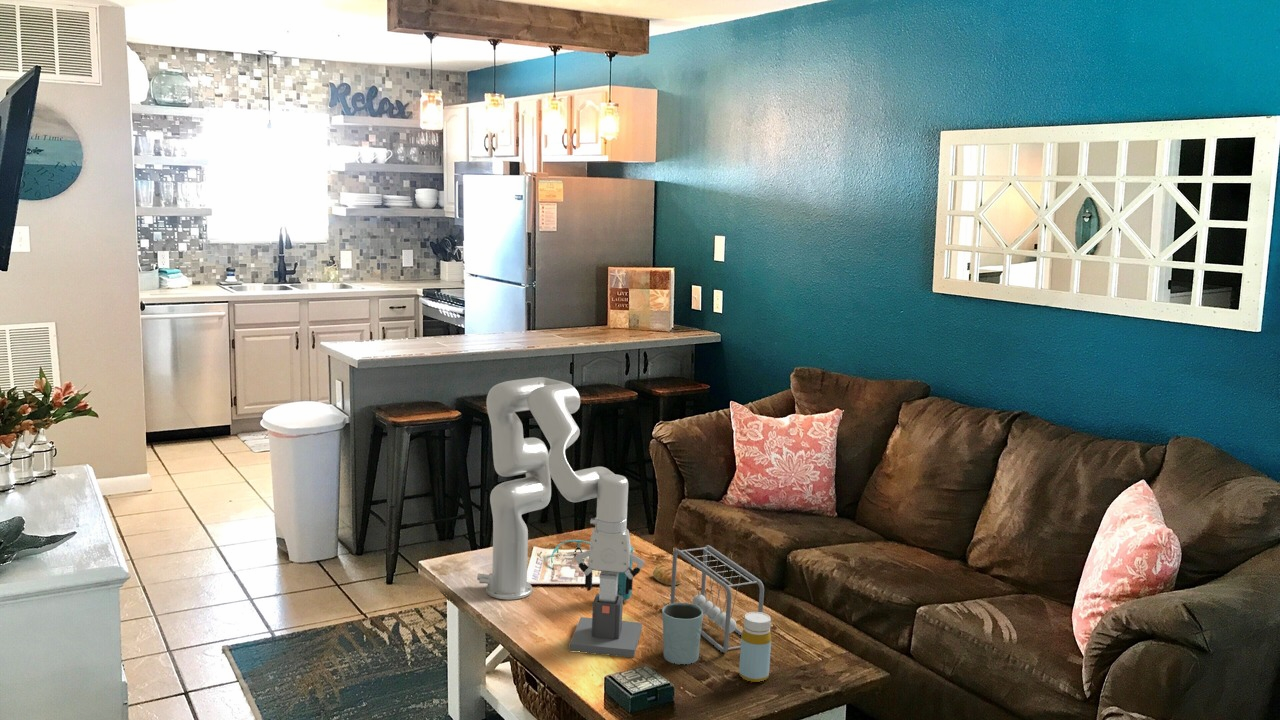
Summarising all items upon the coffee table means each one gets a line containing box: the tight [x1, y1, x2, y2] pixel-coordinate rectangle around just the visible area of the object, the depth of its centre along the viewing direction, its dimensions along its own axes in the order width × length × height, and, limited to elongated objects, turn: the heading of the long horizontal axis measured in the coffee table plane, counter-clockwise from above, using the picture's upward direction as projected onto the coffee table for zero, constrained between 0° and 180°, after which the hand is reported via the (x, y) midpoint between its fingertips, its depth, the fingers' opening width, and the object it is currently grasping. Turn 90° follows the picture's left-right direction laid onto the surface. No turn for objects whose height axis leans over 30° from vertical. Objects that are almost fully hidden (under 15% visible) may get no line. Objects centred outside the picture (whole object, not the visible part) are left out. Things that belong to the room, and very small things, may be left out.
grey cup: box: [661, 602, 704, 666], centre depth 256 cm, size 10×10×12 cm
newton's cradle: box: [669, 544, 765, 654], centre depth 273 cm, size 30×10×18 cm, turn 26°
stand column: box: [598, 571, 619, 604], centre depth 263 cm, size 4×4×15 cm
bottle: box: [738, 611, 772, 683], centre depth 247 cm, size 7×7×15 cm
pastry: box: [652, 563, 683, 586], centre depth 305 cm, size 9×7×4 cm
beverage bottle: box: [617, 532, 634, 601], centre depth 287 cm, size 6×7×20 cm
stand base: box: [569, 593, 643, 658], centre depth 263 cm, size 16×16×11 cm
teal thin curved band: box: [550, 539, 590, 564], centre depth 315 cm, size 14×15×5 cm
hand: (608, 590), depth 262 cm, fingers open, 9 cm apart
